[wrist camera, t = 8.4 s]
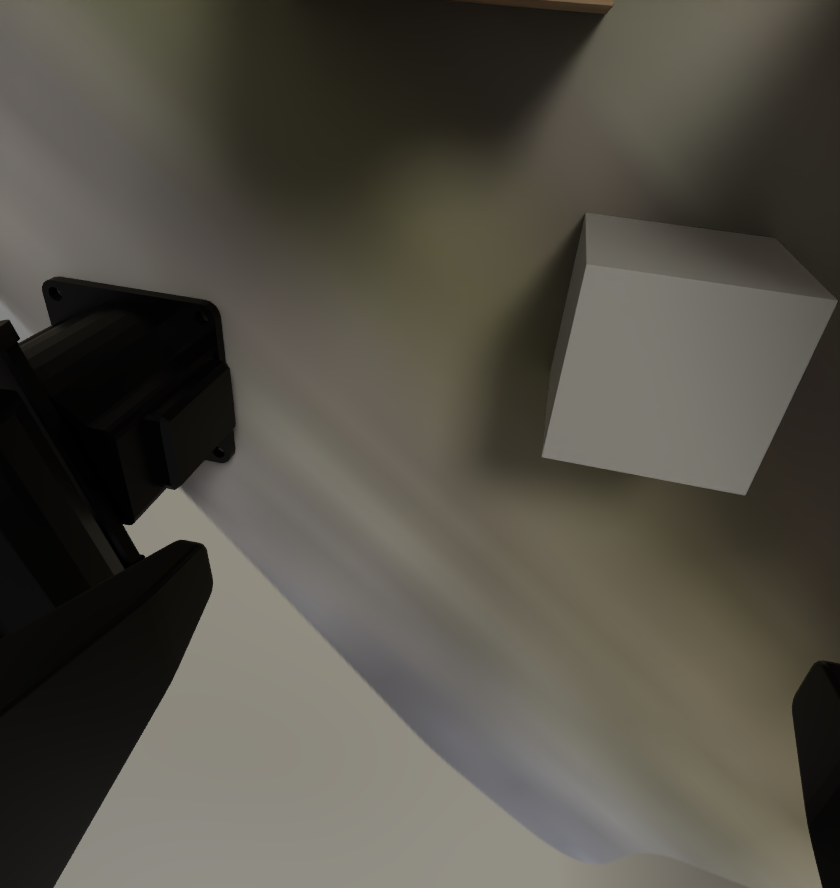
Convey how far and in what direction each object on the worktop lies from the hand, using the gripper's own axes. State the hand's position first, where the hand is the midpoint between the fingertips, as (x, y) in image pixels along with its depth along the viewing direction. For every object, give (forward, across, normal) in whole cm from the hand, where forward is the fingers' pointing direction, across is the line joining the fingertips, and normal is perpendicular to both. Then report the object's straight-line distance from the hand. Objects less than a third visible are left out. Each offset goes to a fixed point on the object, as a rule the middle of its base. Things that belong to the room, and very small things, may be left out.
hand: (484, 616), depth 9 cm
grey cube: (+12, -3, -1) cm, 13 cm away
